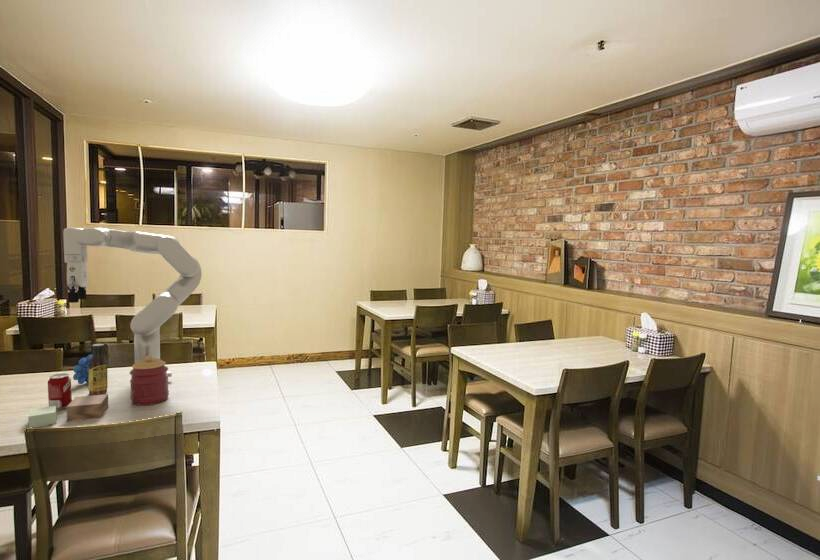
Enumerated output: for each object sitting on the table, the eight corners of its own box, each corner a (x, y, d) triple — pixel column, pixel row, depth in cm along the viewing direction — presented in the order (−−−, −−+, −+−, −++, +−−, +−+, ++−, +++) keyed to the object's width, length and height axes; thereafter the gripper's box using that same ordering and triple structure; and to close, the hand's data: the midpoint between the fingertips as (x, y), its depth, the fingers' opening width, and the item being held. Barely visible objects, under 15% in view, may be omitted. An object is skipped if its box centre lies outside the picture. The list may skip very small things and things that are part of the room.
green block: (56, 416, 159) (55, 405, 159) (56, 423, 154) (55, 412, 153) (30, 421, 155) (29, 409, 155) (29, 428, 149) (28, 416, 149)
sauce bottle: (93, 397, 178) (91, 347, 177) (85, 394, 182) (83, 345, 180) (111, 392, 184) (109, 344, 182) (103, 389, 187) (102, 342, 185)
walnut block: (108, 407, 169) (107, 394, 168) (101, 417, 160) (101, 403, 159) (76, 410, 165) (75, 396, 165) (67, 420, 156) (66, 406, 155)
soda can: (59, 411, 164) (57, 379, 162) (44, 409, 165) (42, 377, 164) (76, 405, 170) (75, 373, 169) (61, 403, 172) (60, 372, 170)
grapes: (96, 377, 202) (95, 351, 201) (105, 379, 200) (104, 353, 198) (67, 385, 192) (66, 357, 191) (77, 387, 189) (76, 359, 188)
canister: (128, 398, 179) (127, 354, 177) (165, 391, 186) (164, 349, 185) (132, 408, 168) (131, 361, 167) (171, 401, 176) (170, 356, 175)
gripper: (80, 259, 177) (82, 303, 178) (93, 257, 193) (94, 297, 194) (56, 259, 174) (58, 304, 176) (72, 257, 190) (73, 298, 192)
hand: (77, 300), depth 185 cm, fingers open, 9 cm apart
